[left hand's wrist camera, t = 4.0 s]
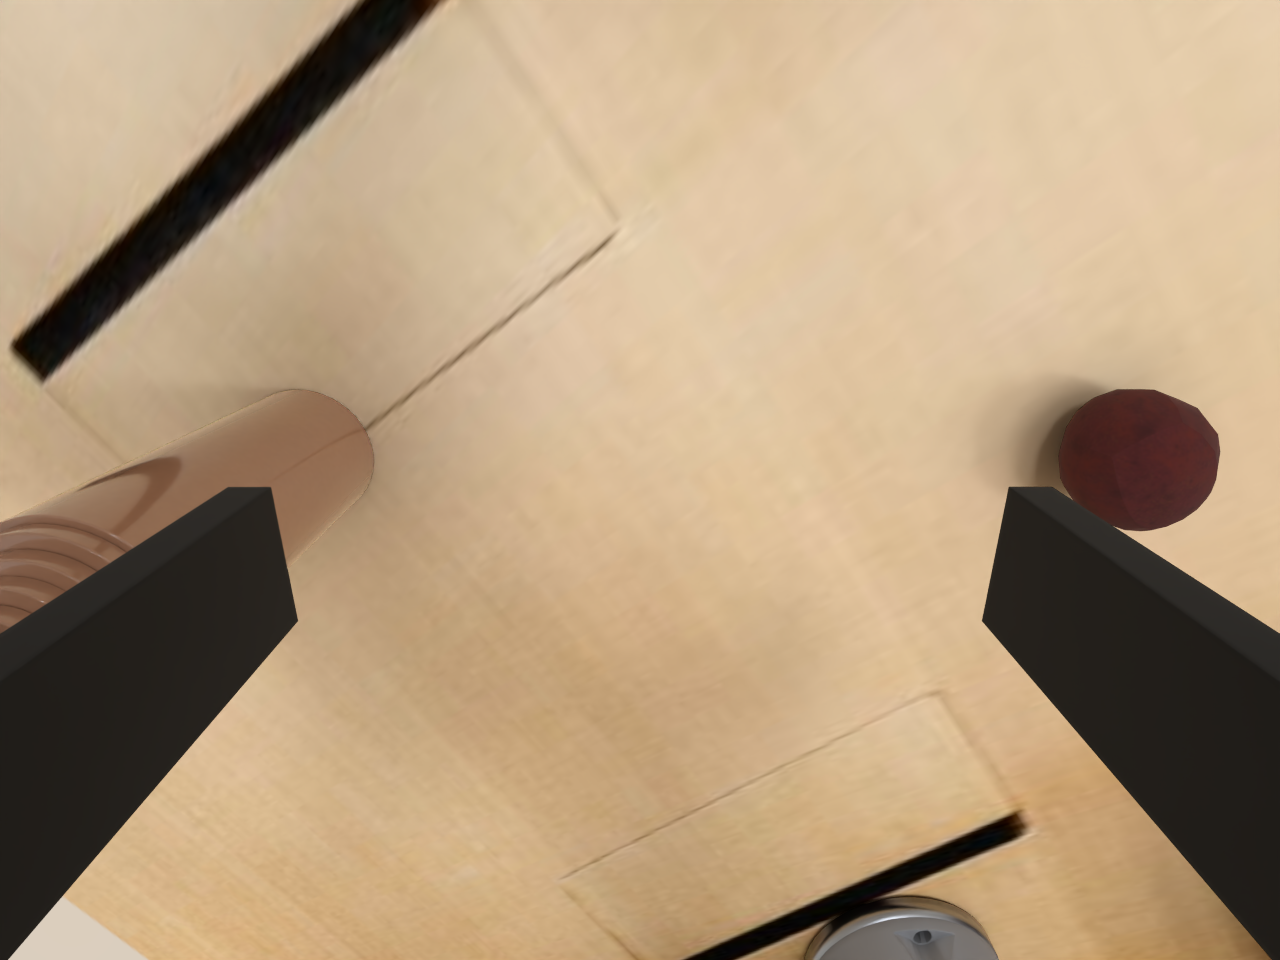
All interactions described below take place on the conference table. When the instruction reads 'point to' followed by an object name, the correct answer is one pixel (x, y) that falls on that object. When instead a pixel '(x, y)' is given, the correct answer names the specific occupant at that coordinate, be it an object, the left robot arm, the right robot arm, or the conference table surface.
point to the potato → (1139, 458)
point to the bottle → (191, 494)
